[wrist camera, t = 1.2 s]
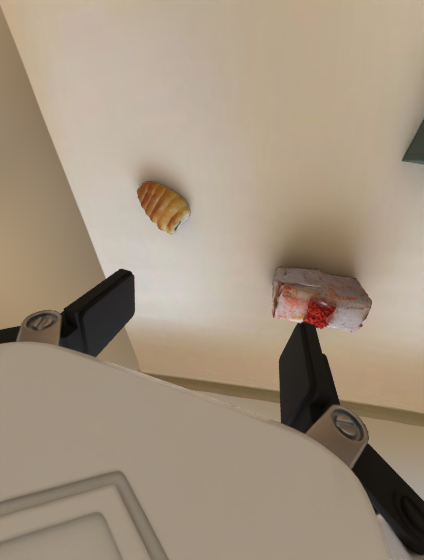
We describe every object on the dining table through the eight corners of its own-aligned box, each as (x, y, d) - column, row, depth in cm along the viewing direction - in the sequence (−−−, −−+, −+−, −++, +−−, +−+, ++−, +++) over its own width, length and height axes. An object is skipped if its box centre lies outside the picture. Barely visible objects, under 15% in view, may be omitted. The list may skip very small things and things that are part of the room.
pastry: (135, 201, 39) (123, 204, 36) (153, 168, 36) (141, 169, 33) (175, 235, 41) (167, 241, 37) (196, 207, 37) (189, 211, 34)
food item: (268, 297, 42) (267, 330, 34) (275, 259, 38) (275, 287, 30) (345, 307, 39) (364, 347, 31) (360, 268, 35) (387, 301, 27)
